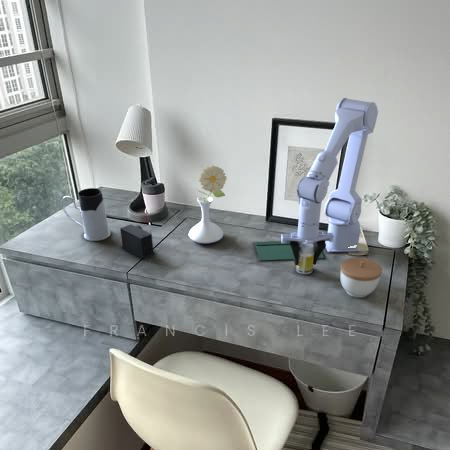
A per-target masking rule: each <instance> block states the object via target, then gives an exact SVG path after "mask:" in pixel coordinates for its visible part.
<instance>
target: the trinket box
mask: <svg viewBox="0 0 450 450" xmlns="http://www.w3.org/2000/svg"><path fill="white" fill-rule="evenodd" d="M340 264H341V265H340V273H339V278H340V279H339V280H340V284H341V286H342V288H343V289H344V291H345V292H346V293H347V294H348V296H351V297H353V298H366V297H367V296H368V295H370V294H372V293H373V292H374V291H375V290H376V289H377V287H378V285H379V283H380V281H381V277H382V274H383V267H382V266H381V264H379V263H378V262H377V261H375V260H373V259H370V258H366V257H357V256H356V257H349V258H346V259H345V260H344V259H343V261H342V262H341V263H340Z"/></svg>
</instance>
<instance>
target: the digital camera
mask: <svg viewBox="0 0 450 450" xmlns="http://www.w3.org/2000/svg"><path fill="white" fill-rule="evenodd" d="M120 236H121V244H122V249H125V250H126V251H128V252H130V253H132V254H133V255H136V256H138V257H140V258H142V259H145V258H148V257H150V256H152V255H154V245H153V234H152V232H151V233H150V232H149V231H147V230H144V228H142V227H141V225H139V224H136V225H134V224H132V223H130V224H127V225H125V226H123V227H120Z"/></svg>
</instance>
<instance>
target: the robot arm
mask: <svg viewBox="0 0 450 450" xmlns="http://www.w3.org/2000/svg"><path fill="white" fill-rule="evenodd" d="M378 115H379V109H378V106H377V103H376V102H375V101H364V100H357V99H351V98H347V97H342V98H341V99H340V101H338V103H337V105H336V108H335V111H334V122H335V125H334V128H333V129H332V131H331V134H330V136H329V139H328V141H327V144H326V146H325V149H324V151H321V152H319V153H318V154H317V155H316V158H315V159H314V161H313V163H312V165H311V168H310V169H309V171H308V173H307V175H306V176H304V177H302V178H301V179H300V180H299V181H298V184H297V188H296V196H297V203H298V205H299V211H298V224H297V225H298V226H297V231H294V232H290V233H289V232H288V233H284V234H283V233H282V234H281V236H280V238H281V239H280V241H281V242H282V244H285V243H286V242H289V243H290V246H291V249H292V251H293V256H294V260H293V263H294V266H297V265H298V255H299V250H300V247H299V243H298V242H306V243H307V244H313V243H314V262H313V266H316V265H317V263H318V260H319V259H318V258H319V256H320V254H321V253H322V254H323V252H324V250H325V249H326V251H327V252H328V253H346V252H347V253H349V252H358V251H359V250H358V247H357V248H348V247H350V246H354V245H358V246H359V241H360V234H361V224H360V221H359V219H360V216H361V214H362V202H363V201H362V200H363V199H362V197H361V196H360V195H359V194H358V192H357V191H356V187H357V182H358V179H359V173H360V171H361V166H362V163H363V157H364V153H365V149H366V145H367V141H368V137H369V135H371V134H373V133H374V131H375V128H376V123H377V119H378ZM346 142H347V144H346ZM345 144H346V145H347V146H346V150H345V155H344V159H343V164H342V168H341V173H340V177H339V181H338V185H337V186H338V187H337V189H335V190H332V191H331V192H330V193H329V194H328V189H329V186H330V179H331V177H332V175H333V173H334V172H335V169H336V167H337V165H338V163H339V162H338V158H337V157H338V155H339V153H340V151H342V149H343V147H344V146H345ZM327 194H328V197H327V200H326V201H325V204H324V209H323V211H324V215H325V216H326V220H327V221H328V226H327V227H328V228H327V232H324V231H320V230H319V229H320V220H321V212H322V203H323V201H324V200H325V198H326V196H327Z"/></svg>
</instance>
